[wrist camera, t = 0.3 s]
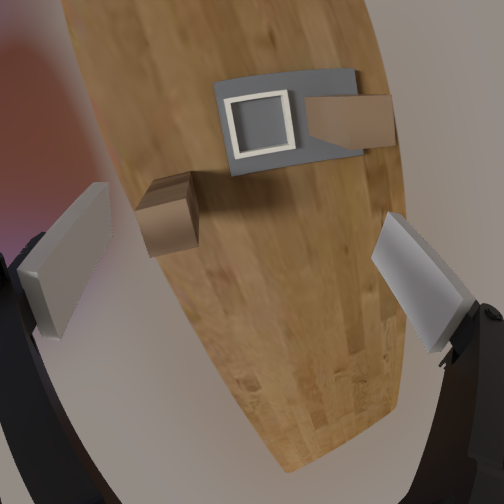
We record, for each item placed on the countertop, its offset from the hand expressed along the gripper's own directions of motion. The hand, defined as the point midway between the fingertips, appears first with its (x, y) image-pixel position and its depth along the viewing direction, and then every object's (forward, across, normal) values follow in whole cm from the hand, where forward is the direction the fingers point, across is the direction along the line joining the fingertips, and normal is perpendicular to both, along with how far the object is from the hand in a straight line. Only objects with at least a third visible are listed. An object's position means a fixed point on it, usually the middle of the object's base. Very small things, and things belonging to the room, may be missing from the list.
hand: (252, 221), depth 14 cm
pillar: (+25, -6, -10) cm, 28 cm away
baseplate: (+27, +7, +2) cm, 28 cm away
